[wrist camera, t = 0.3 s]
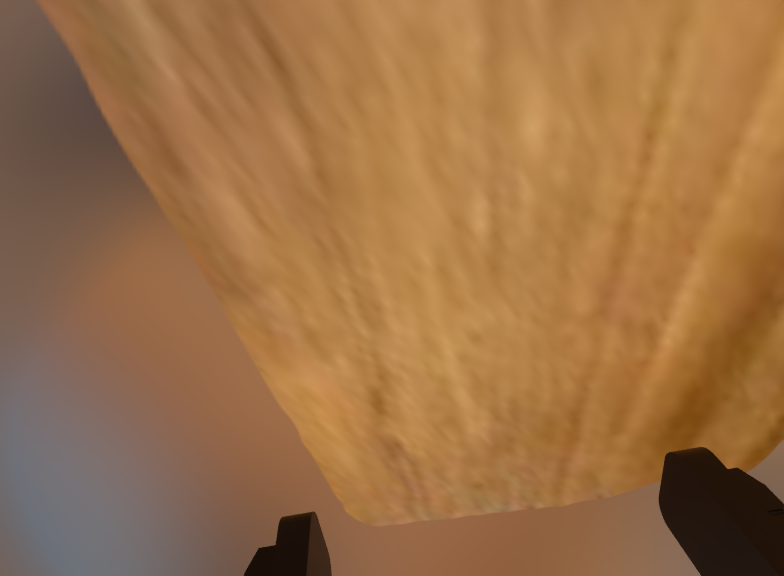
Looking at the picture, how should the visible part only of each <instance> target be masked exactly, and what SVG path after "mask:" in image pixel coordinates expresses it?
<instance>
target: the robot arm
mask: <svg viewBox="0 0 784 576" xmlns="http://www.w3.org/2000/svg"><path fill="white" fill-rule="evenodd" d="M659 506H660V510H661V513H662V516H663V518H664V520H665V523H666V524H667V526H668V528H669V529H670V531H671V532H672V534H673V535H674V537H675V538H676V539H677V541H678V542H679V544H680V545H681V547H682V548H683V550H684V551H685V552H686V554H687V555H688V557H689V558H690V560H691V561H692V563H693V564H694V566H695V567H696V569H697V570H698V572H699V573H700V575H701V576H784V504H783V503H782V502H781V501H780V500H779V499H778V498H777V497H776V496H775V495H774V494H773V493H772V492H771V491H770V490H769V489H768V488H767V487H766V485H764V484H763V483H761V482H759V481H758V480H756V479H754V478H753V477H751V476H750V475H748V474H746V473H745V472H743V471H742V470H740V469H739V468H732V469H727V468H726V467H725V466H724V465H723V464H722V463H721V461H720V460H719V459H718V458H717V457H716V456H715V455H714V454H713V453H712V452H711V451H710V450H708V449H707V448H704V447H697V448H692V449H686V450H680V451H674V452H669V453H667V454H666V456H665V461H664V467H663V473H662V480H661V486H660V493H659ZM244 576H332V575H331V564H330V557H329V553H328V549H327V546H326V543H325V540H324V537H323V534H322V531H321V527H320V524H319V521H318V518H317V515H316V513H315V512H309V513H303V514H297V515H291V516H285V517H282V518H281V519H280V522H279V526H278V533H277V540H276V545H274V546H269V547H263V548H259V549H258V551H257V552H256V554H255V556H254V557H253V559H252V561H251V563H250V564H249V566H248V568H247V570H246V572H245V574H244Z"/></svg>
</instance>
